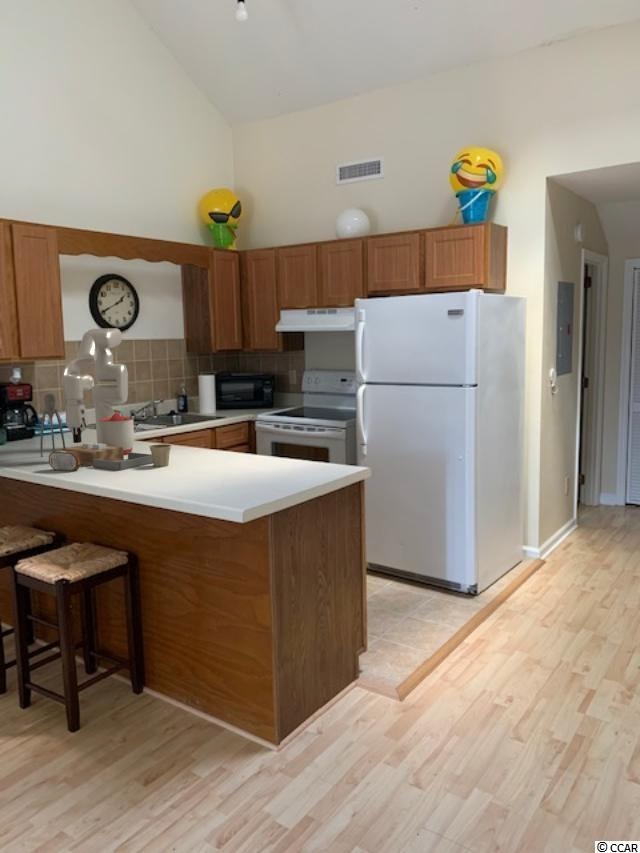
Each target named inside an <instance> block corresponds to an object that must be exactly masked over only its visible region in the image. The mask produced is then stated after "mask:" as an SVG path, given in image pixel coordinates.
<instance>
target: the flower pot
mask: <svg viewBox="0 0 640 853" xmlns="http://www.w3.org/2000/svg"><path fill="white" fill-rule="evenodd" d="M148 448H149V451H150V453H151V454H152V459H153V463H152V464H153V466H154V467H156V468H157V467H160V468H162V467H168V466H169V463H170V454H171V448H172V444H167V443H166V444H165V443H161V444H152V445H148Z"/></svg>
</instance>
